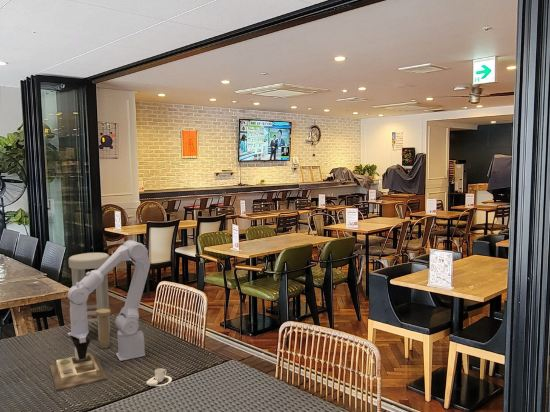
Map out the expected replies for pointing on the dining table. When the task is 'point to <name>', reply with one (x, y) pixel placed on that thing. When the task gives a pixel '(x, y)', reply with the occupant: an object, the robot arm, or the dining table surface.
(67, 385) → the socket block
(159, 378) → the teacup and saucer
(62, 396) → the dining table surface
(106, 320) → the handle
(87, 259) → the stool
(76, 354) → the peg
